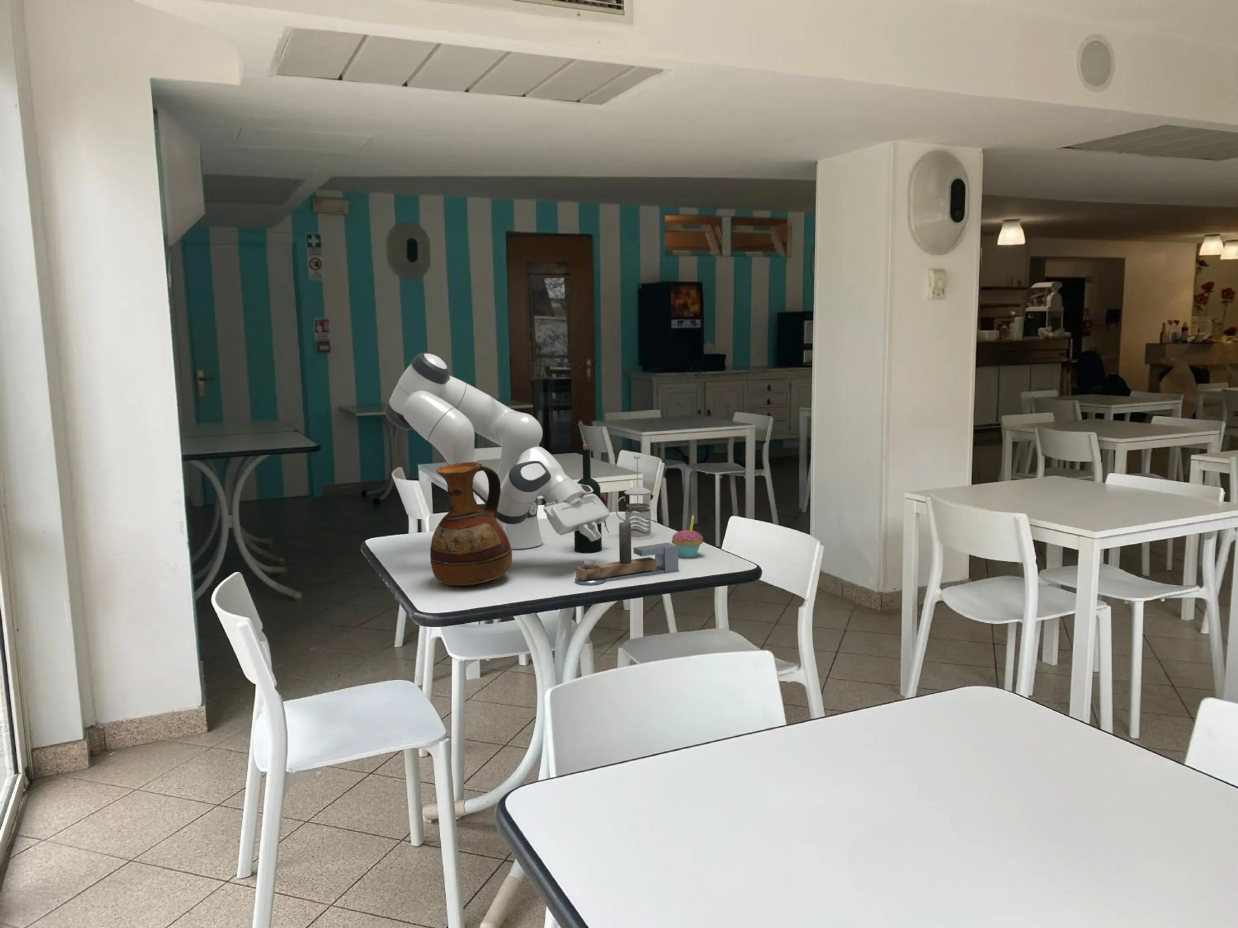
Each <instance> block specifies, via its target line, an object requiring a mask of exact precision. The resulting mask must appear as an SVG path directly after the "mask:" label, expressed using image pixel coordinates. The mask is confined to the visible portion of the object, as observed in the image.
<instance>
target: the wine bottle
mask: <svg viewBox="0 0 1238 928" xmlns="http://www.w3.org/2000/svg"><path fill="white" fill-rule="evenodd" d="M582 447H583V448H582V449H581V450H582V451H581V452H582V478H581V479H579V480H578V481H577V482H576V483H578V484H582V485H588V486H590V487H591V488H592V489H593V492H592V494H595V495H596V496H597V497H598V498H599V499H600V500H601V501H602V502H603V504H604V505H605V506H606V505H607V504H606V500H605V496H603V494H601V486H600V483H598V481H597V480H596V479H594V478H592V477H591V475H592V473H591V472H592V471H591V449H590V444H582ZM603 524H604V526H605V529H606V531H607V533H608V534H609V535H610V531H609V529H608V528H607V522H606V520H605V521H604V522H603ZM597 528H598V531H599V533H600V534H601V537H600V538H599V539H598V540H595V541H590V539H589V538H588V537H587V536H585V535H583V534H582V533H580V531H579V530H577V531H574V542H573V543H574V552H575V553H576V552H577V553H578V554H579V553H581V554H596V553H599V552H602V551H603V543H602V542H603V540H602V539H603V538H602V537H603V536H602V534H603V533H602V523H600V524H597Z"/></svg>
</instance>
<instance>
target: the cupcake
mask: <svg viewBox="0 0 1238 928" xmlns="http://www.w3.org/2000/svg"><path fill="white" fill-rule="evenodd" d="M694 520H695V513H692V515H691V520H690V526H689V527H690V528H689V529H686V530H685V529H684V530H679V531H677V532H675V533H674V534H673V535H672V538H671V544H674V545H677V546H678V557H681V558H685V559H686V558H688V559H689V558H694V557H697V555H698V552H699V550H700V549H699V548H700V546H701V544H703V543H704V542H703V540H704V537H703V536H702V535H701V533H699V532H698V531H695V530H693V527H694V522H695V521H694Z"/></svg>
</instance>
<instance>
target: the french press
mask: <svg viewBox="0 0 1238 928" xmlns="http://www.w3.org/2000/svg"><path fill="white" fill-rule="evenodd" d="M633 459H634V460H639V459H641V456H640V455H639V454H635V455H634V456H633ZM638 463H639V462H636V486H633V487H629V488H628V489H626V490H625V491H624V492H623V493H624V494H625V495H627V496H637V500H636V501H637V502H633V503H627V504H626V505H625V507H626V508H627V509H624V510H625V513H624V514H625V515H624V516H625V519H624V518H622V517H621V516H620V515H619V514H618V512H617V511H618V510H617V508H618V507H617V506H618V503H619V502H620V501H621V500H622V499H624V502H626V496H625V495H624V496H622V497H620V498H619V499H618V500H617V501H616V504H615V514H616V516H617V518H618V519H619V520H620V521H622V522H630V523H631V541H646V540H647V539H648V540H652V539H654V538H655V536H654V534H653V533H652V517H651V515H652V513H651V512H652V511H651V508H649V507H650V504H649V503H641V502H639V496H649V495H650V494H652V491H651V490H650V489H648V488H646V487H642V486H639V483H638V482H639V481H638V480H639V478H638V477H639V476H638V475H639V474H638V471H639V470H638V469H639V467H638V466H639V465H638ZM631 517H632V518H631ZM642 519H643V520H642ZM632 525H633V526H632Z"/></svg>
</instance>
